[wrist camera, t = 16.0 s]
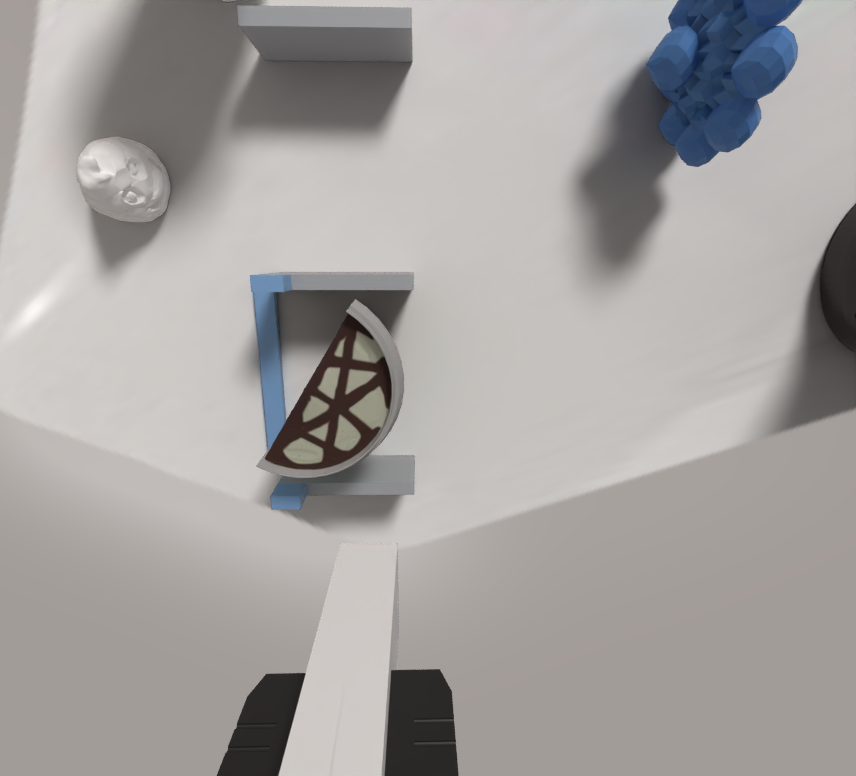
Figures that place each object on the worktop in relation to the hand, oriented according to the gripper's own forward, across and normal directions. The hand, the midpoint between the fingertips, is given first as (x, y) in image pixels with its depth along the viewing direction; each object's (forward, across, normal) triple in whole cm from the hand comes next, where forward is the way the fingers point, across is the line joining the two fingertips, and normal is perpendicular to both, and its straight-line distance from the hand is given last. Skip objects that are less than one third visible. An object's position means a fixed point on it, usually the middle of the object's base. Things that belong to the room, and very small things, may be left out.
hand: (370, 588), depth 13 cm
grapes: (+27, -18, -20) cm, 38 cm away
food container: (+27, +3, +1) cm, 27 cm away
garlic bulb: (+27, +19, -14) cm, 35 cm away
